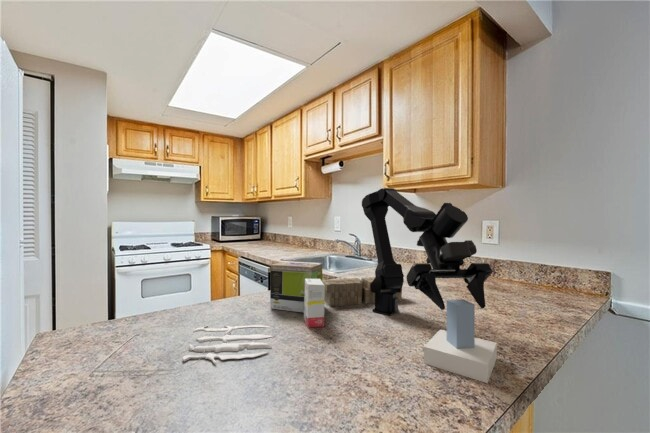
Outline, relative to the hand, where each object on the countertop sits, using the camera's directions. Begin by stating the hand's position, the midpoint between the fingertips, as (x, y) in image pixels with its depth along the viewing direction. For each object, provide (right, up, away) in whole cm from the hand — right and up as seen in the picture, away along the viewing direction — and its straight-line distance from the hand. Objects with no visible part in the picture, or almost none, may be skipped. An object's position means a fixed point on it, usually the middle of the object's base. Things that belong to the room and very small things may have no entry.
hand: (463, 308), depth 63 cm
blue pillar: (0, -8, +1) cm, 8 cm away
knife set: (-59, -11, +8) cm, 61 cm away
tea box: (-39, -11, +36) cm, 54 cm away
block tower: (-16, -12, +45) cm, 49 cm away
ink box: (-33, -11, +23) cm, 41 cm away
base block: (0, -12, +1) cm, 12 cm away
